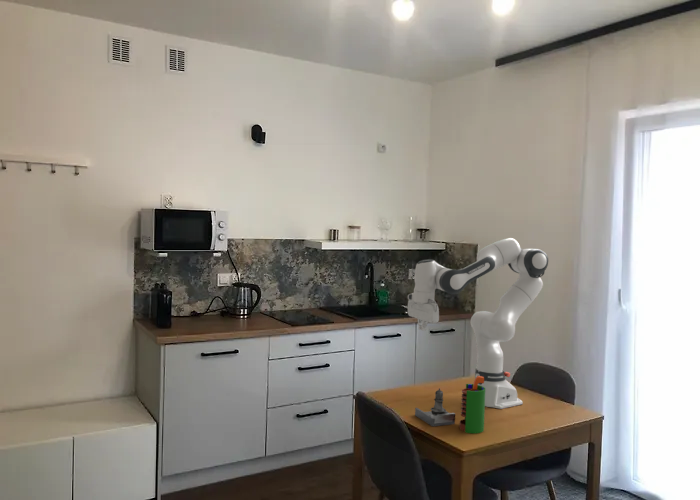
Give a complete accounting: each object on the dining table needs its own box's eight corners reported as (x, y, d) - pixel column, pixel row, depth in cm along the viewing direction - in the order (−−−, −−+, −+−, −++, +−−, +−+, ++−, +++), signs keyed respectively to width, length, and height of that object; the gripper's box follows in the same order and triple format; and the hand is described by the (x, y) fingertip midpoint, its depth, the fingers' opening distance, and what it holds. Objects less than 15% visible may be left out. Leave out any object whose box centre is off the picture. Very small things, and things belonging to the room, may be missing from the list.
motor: (456, 423, 222) (459, 372, 221) (478, 424, 223) (481, 372, 222) (463, 433, 212) (466, 379, 211) (487, 433, 213) (490, 380, 212)
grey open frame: (415, 415, 230) (415, 405, 229) (436, 413, 234) (437, 403, 233) (432, 426, 218) (432, 416, 217) (454, 423, 222) (455, 413, 222)
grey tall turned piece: (447, 420, 221) (449, 390, 221) (433, 421, 220) (435, 390, 219) (441, 415, 227) (443, 385, 227) (427, 416, 226) (429, 386, 225)
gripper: (443, 301, 237) (441, 334, 237) (418, 294, 255) (416, 325, 256) (430, 301, 234) (428, 335, 235) (405, 294, 253) (404, 326, 253)
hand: (422, 330), depth 245 cm, fingers closed
